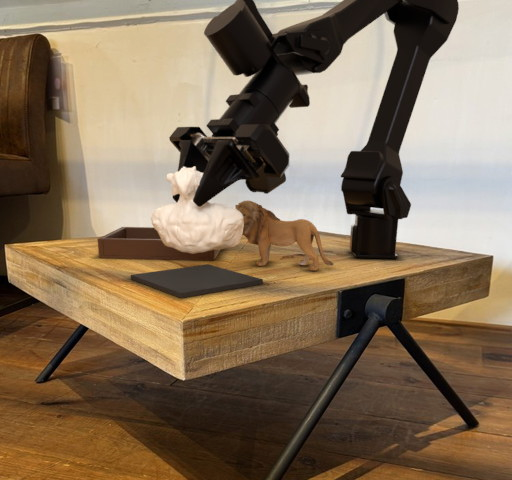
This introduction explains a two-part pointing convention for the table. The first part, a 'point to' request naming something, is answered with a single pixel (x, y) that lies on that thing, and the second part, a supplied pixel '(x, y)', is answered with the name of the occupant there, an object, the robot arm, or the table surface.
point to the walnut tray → (143, 246)
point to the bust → (196, 218)
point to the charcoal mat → (195, 280)
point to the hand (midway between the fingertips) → (185, 202)
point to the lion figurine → (279, 233)
